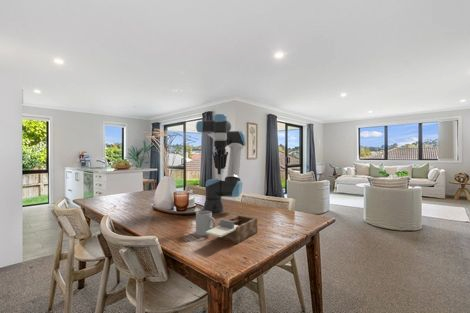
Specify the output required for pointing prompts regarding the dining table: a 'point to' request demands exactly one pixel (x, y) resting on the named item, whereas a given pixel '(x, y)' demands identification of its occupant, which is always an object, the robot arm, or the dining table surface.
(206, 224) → the mug
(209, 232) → the lid
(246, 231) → the box
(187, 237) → the dining table surface
